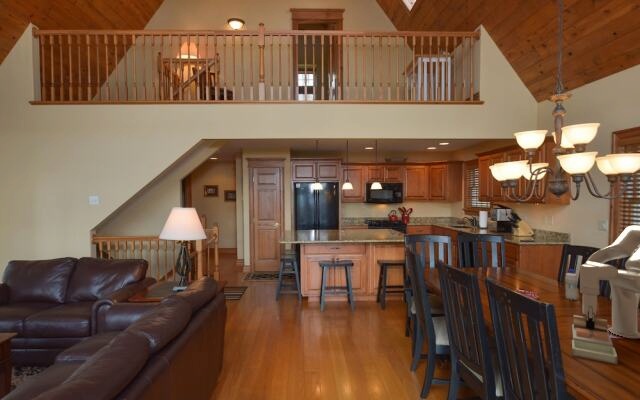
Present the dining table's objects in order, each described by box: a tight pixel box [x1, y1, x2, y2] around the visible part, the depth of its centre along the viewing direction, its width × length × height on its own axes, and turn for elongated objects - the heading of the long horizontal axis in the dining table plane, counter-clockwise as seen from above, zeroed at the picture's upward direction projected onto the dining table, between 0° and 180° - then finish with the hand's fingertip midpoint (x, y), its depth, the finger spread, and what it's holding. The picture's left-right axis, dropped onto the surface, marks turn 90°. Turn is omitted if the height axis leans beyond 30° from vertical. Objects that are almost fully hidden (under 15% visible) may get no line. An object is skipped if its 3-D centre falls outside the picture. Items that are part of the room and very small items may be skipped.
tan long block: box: [573, 314, 609, 332], centre depth 172 cm, size 3×13×5 cm, turn 56°
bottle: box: [564, 268, 578, 301], centre depth 232 cm, size 7×7×20 cm
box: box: [571, 339, 619, 365], centre depth 154 cm, size 11×15×3 cm
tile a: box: [593, 330, 608, 341], centre depth 162 cm, size 5×5×2 cm
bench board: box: [571, 323, 614, 347], centre depth 167 cm, size 20×14×4 cm
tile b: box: [576, 328, 590, 338], centre depth 166 cm, size 5×5×2 cm
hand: (590, 327), depth 172 cm, fingers closed on tan long block, 2 cm apart
